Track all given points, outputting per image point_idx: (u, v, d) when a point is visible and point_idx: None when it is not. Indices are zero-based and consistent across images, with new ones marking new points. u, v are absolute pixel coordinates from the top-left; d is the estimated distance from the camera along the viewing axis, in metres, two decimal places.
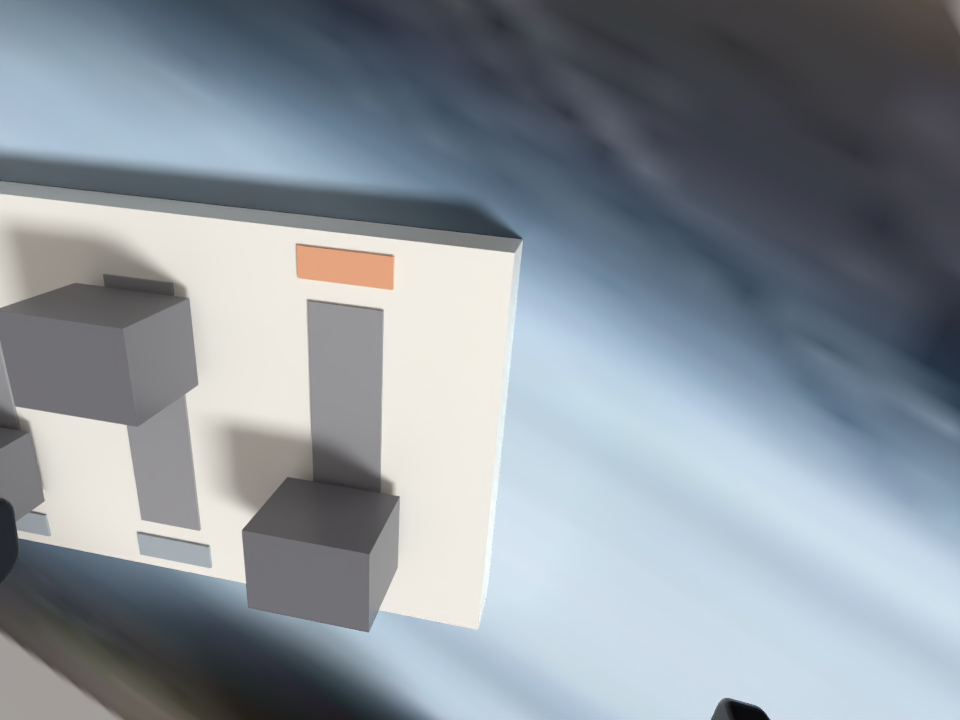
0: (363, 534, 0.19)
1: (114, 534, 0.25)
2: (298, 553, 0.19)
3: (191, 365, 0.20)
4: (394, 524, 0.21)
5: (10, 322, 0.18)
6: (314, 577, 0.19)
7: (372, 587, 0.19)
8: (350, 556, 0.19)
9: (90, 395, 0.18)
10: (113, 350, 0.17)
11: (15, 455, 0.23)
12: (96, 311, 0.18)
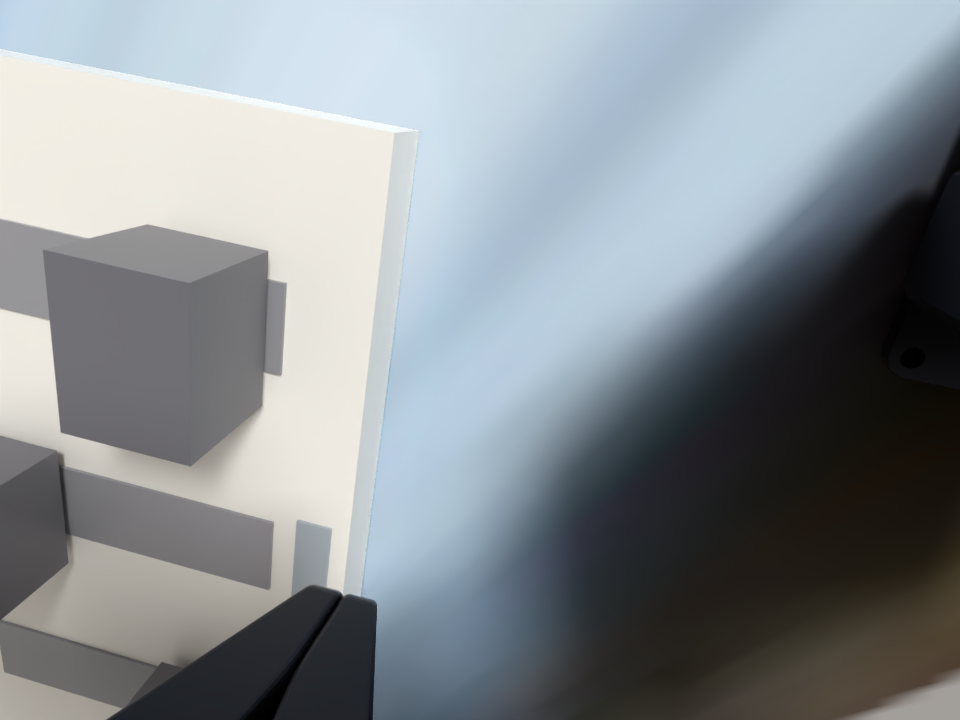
0: None
1: None
2: (73, 361, 0.13)
3: (23, 448, 0.18)
4: (161, 234, 0.14)
5: None
6: (107, 347, 0.13)
7: (129, 263, 0.12)
8: (53, 280, 0.12)
9: None
10: None
11: None
12: None
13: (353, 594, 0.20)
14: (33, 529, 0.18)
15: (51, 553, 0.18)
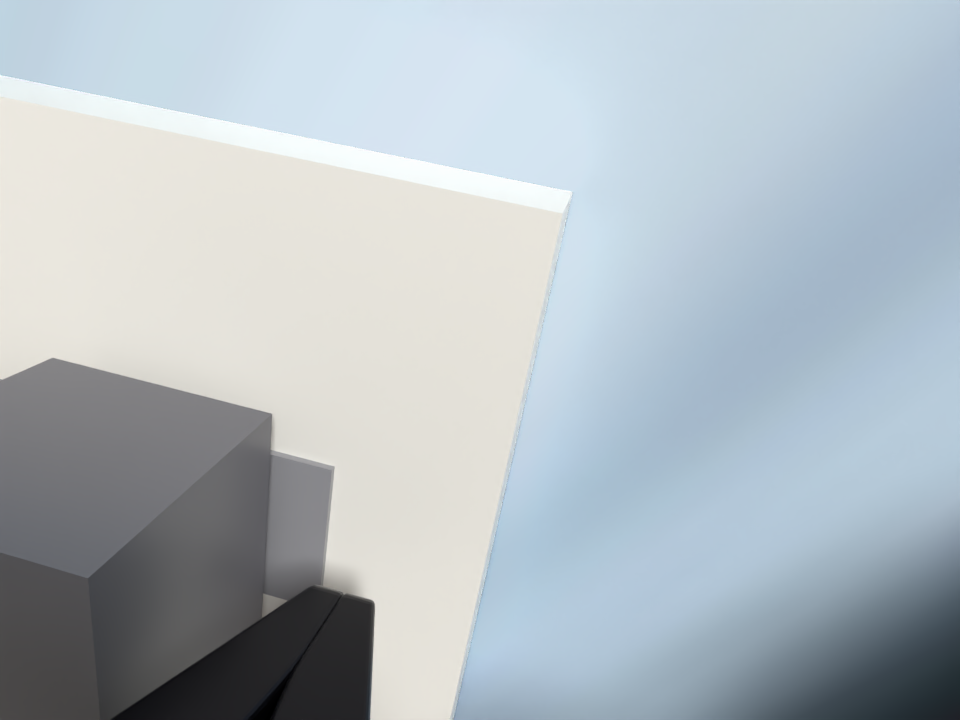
0: None
1: None
2: None
3: None
4: (71, 388, 0.08)
5: None
6: None
7: None
8: None
9: None
10: None
11: None
12: None
13: None
14: None
15: None
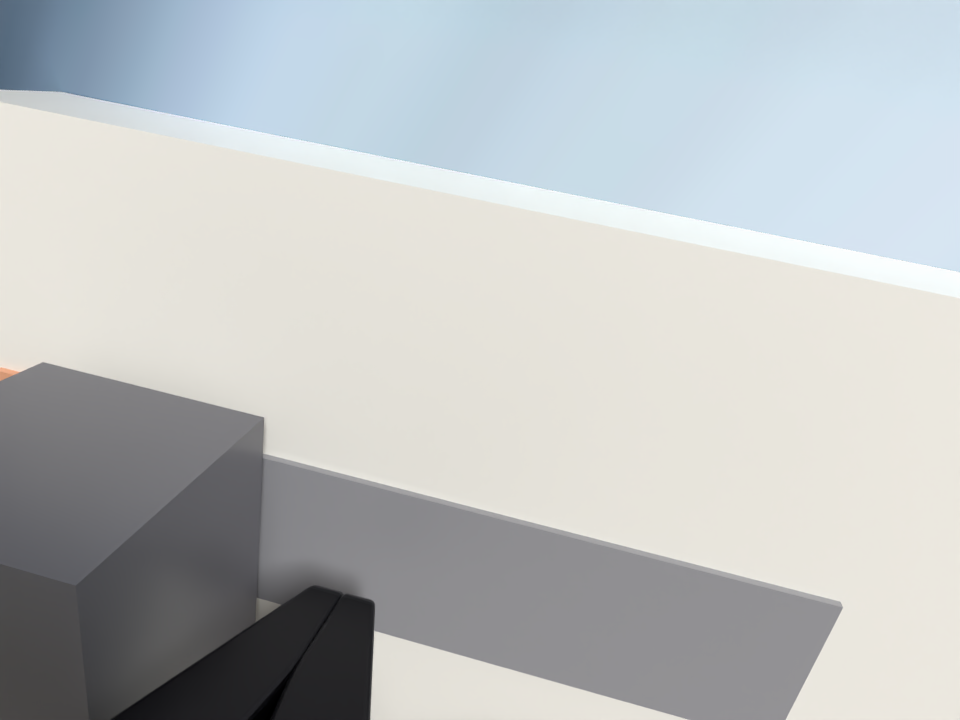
0: None
1: None
2: None
3: None
4: (61, 392, 0.07)
5: None
6: None
7: None
8: None
9: None
10: None
11: None
12: None
13: None
14: None
15: None
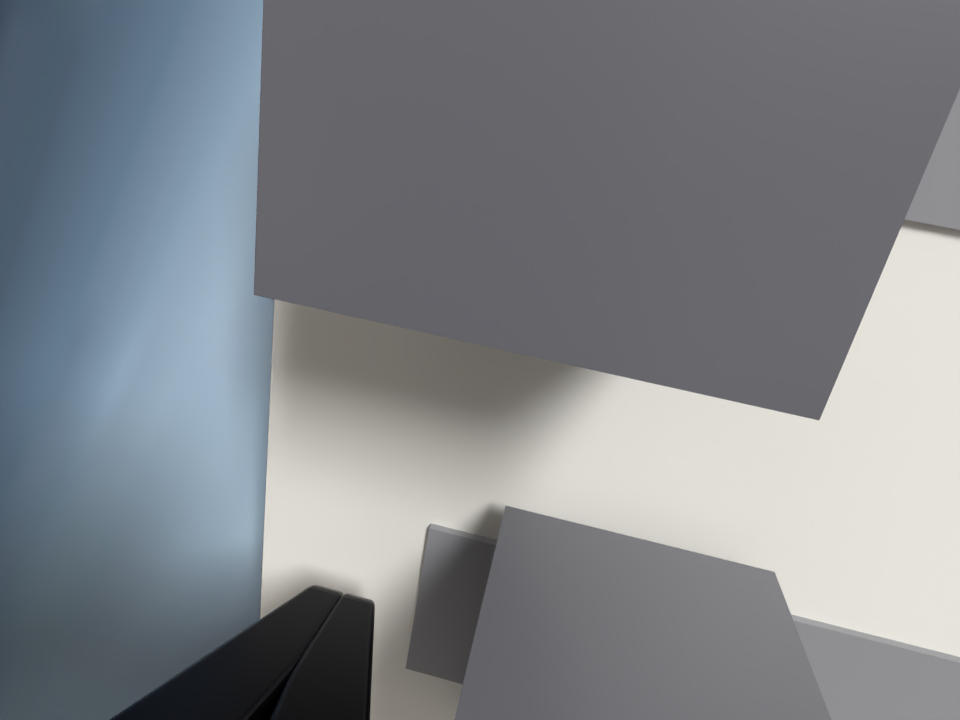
0: None
1: None
2: None
3: (703, 568, 0.07)
4: None
5: None
6: None
7: None
8: None
9: None
10: None
11: None
12: None
13: None
14: None
15: None
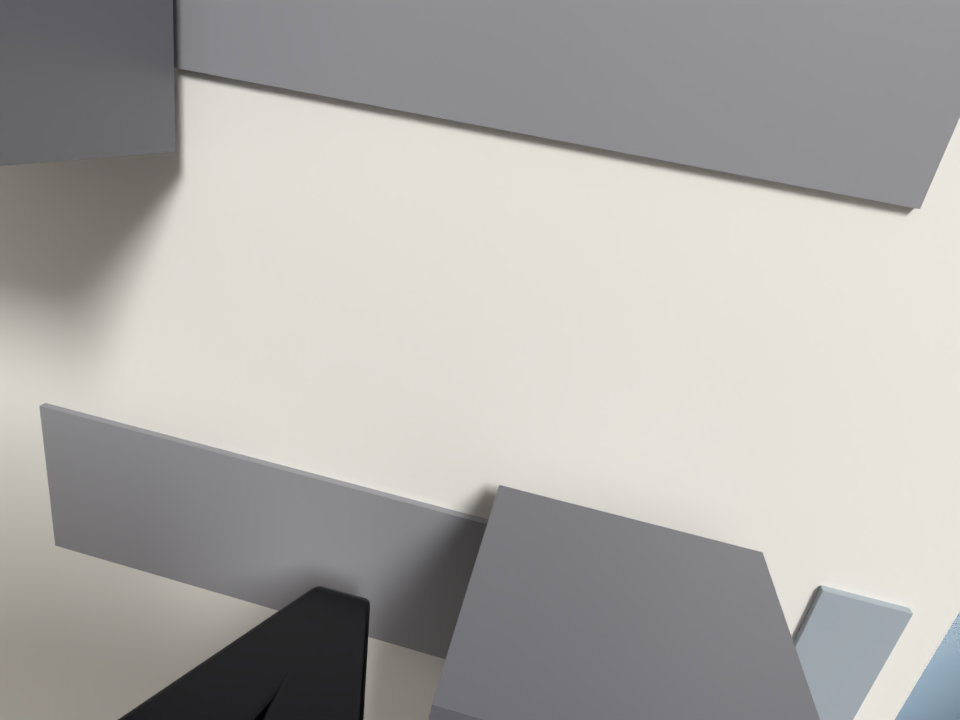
0: None
1: None
2: None
3: (691, 547, 0.07)
4: None
5: None
6: None
7: None
8: None
9: None
10: None
11: None
12: None
13: None
14: None
15: None
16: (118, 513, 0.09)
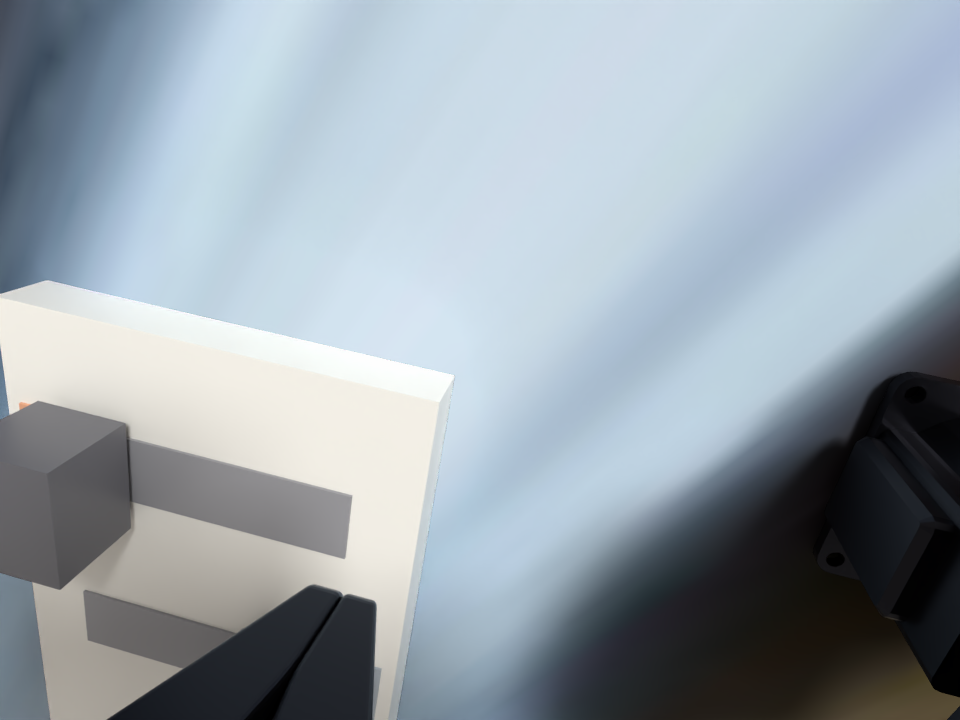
0: None
1: None
2: None
3: None
4: (45, 413, 0.19)
5: None
6: None
7: (8, 454, 0.17)
8: None
9: None
10: None
11: None
12: None
13: (394, 709, 0.24)
14: None
15: None
16: (113, 628, 0.24)
